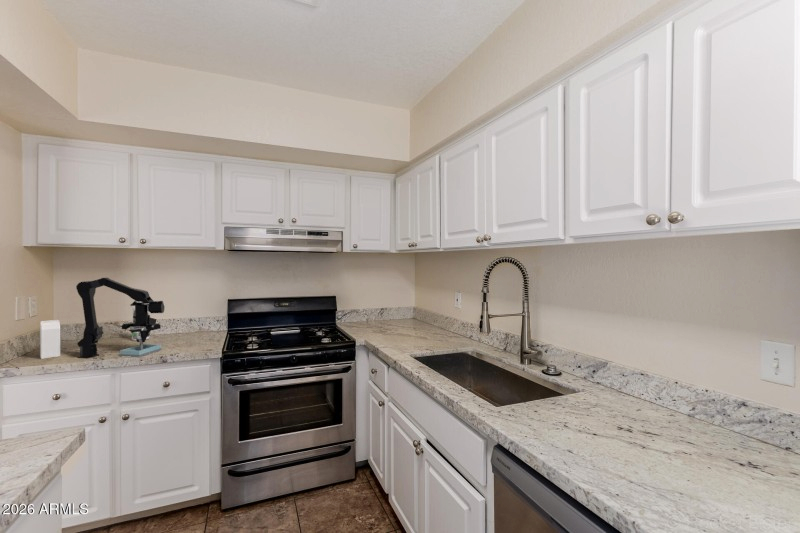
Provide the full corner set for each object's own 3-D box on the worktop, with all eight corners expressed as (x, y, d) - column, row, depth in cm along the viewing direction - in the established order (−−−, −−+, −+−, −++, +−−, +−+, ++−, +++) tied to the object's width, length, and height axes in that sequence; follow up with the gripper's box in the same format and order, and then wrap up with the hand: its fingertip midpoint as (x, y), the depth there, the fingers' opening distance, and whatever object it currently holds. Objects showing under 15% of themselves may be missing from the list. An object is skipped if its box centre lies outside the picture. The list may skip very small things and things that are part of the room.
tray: (120, 356, 189) (120, 350, 189) (143, 349, 204) (143, 344, 204) (139, 357, 188) (139, 351, 188) (161, 350, 203) (161, 344, 203)
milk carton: (60, 356, 188) (60, 320, 188) (41, 359, 182) (41, 322, 182) (58, 354, 193) (58, 319, 192) (40, 356, 187) (40, 320, 187)
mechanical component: (151, 347, 201) (151, 329, 201) (135, 351, 191) (136, 333, 191) (146, 347, 201) (146, 329, 201) (130, 351, 191) (130, 332, 191)
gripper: (168, 312, 203) (168, 339, 203) (138, 311, 205) (138, 338, 205) (152, 314, 192) (152, 344, 192) (120, 313, 194) (120, 342, 194)
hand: (141, 342), depth 196 cm, fingers closed on mechanical component, 3 cm apart
